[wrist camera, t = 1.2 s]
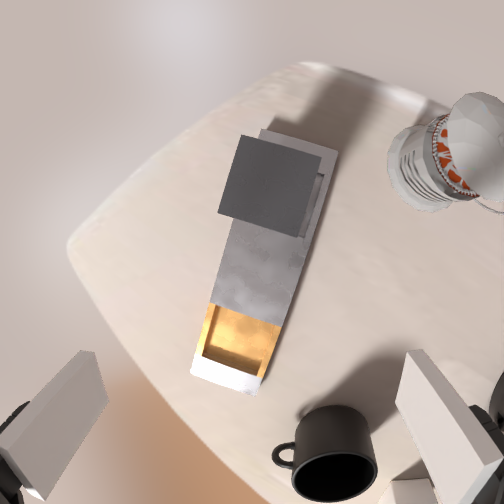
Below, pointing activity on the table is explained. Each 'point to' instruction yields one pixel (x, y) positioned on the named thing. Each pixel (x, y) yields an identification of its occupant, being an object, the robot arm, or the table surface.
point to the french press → (452, 156)
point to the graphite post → (269, 185)
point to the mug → (331, 455)
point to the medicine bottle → (409, 492)
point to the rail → (257, 287)
